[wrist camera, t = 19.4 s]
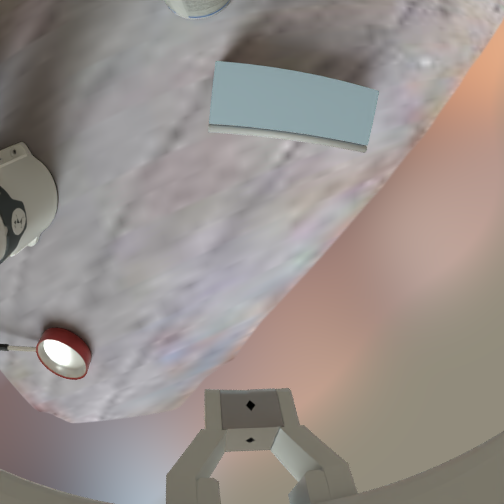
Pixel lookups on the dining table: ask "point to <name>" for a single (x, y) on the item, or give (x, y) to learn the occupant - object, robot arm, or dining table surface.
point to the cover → (291, 106)
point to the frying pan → (60, 353)
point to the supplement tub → (196, 7)
